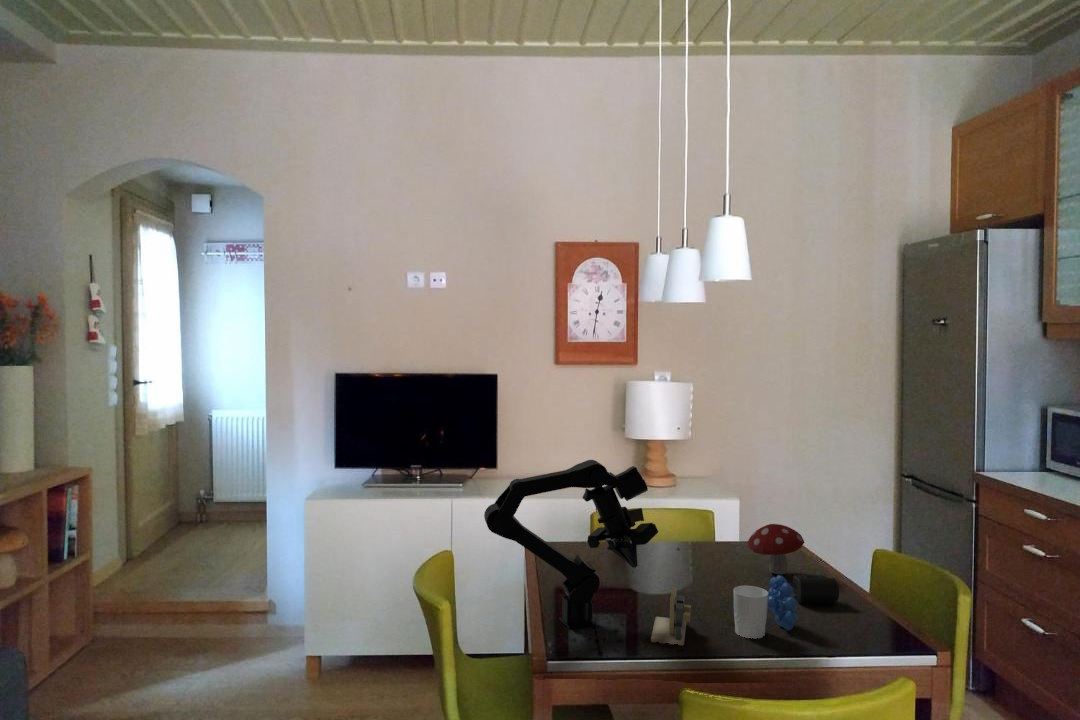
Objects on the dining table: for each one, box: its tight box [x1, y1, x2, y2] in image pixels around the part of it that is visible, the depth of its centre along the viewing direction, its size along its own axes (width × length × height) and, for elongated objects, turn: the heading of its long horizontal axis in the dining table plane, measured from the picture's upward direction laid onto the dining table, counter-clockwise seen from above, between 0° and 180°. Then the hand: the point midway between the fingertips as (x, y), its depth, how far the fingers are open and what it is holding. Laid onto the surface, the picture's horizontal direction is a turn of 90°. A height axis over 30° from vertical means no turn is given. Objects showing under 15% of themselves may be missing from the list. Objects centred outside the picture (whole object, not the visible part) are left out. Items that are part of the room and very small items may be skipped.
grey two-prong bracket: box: [674, 595, 685, 640], centre depth 171 cm, size 2×12×6 cm, turn 166°
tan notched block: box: [669, 587, 692, 634], centre depth 171 cm, size 4×8×8 cm, turn 166°
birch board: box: [650, 616, 687, 646], centre depth 172 cm, size 7×13×1 cm, turn 166°
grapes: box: [767, 574, 799, 631], centre depth 176 cm, size 12×7×12 cm, turn 11°
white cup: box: [732, 585, 769, 640], centre depth 172 cm, size 8×8×10 cm
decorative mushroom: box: [747, 523, 805, 575], centre depth 215 cm, size 16×16×15 cm
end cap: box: [792, 574, 840, 605], centre depth 193 cm, size 10×7×7 cm
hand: (635, 566), depth 179 cm, fingers closed
